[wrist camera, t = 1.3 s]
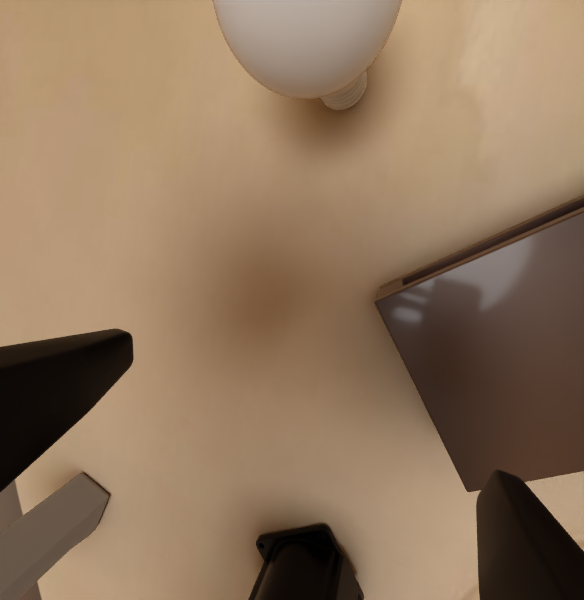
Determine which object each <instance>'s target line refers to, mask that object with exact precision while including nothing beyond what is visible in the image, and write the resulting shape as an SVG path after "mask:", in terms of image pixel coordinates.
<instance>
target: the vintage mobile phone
mask: <svg viewBox="0 0 584 600" xmlns="http://www.w3.org/2000/svg"><path fill="white" fill-rule="evenodd" d="M108 498H109V494H108V493H107V492H105V491H104V490H103V489H102V488H101V487H100V486H98V485H97V484H96V483H95V482H94V481H92V480H91V479H90V478H89V477H88V476H86V475H85V474H82V473H80V474H79V475H77V476H76V477H75V478H73V479H72V480H71V481H69V482H68V483H67V484H65V485H64V486H63V487H61V488H60V489H59V490H57V491H56V492H54V493H53V494H52V495H50V496H49V497H48V498H46V499H45V500H44V501H42V502H41V503H40V504H38V505H37V506H36V507H34V508H33V509H31V510H30V511H29V512H27V513H26V514H25V515H23V516H22V517H21V518H19V519H18V520H17V521H15V522H14V523H13V524H11V525H10V526H8V527H7V528H6V529H4V530H3V531H2V532H0V600H17V599H18V598H20V596H22V595H23V594H24V593H25V592H26V591H27V590H28V589H29V588H30V587H31V586H32V585H33V584H34V583H35V582H36V581H37V580H39V579H40V578H41V577H42V576H43V575H44V574H45V573H46V572H47V571H48V570H49V569H50V568H51V567H52V566H53V565H54V564H55V563H56V562H57V561H59V560H60V559H61V558H62V557H63V556H64V555H65V554H66V553H67V552H68V551H69V550H70V549H71V548H73V547H74V546H75V545H77V544H78V543H80V542H81V541H82V540H84V539H85V538H86V537H88V536H89V535H90V534H91V533H92V532H93V531H94V530H95V529H96V527H97V525H98V522H99V520H100V517H101V515H102V512H103V510H104V508H105V505H106V503H107V500H108Z"/></svg>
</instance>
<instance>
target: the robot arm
mask: <svg viewBox="0 0 584 600" xmlns="http://www.w3.org/2000/svg"><path fill="white" fill-rule="evenodd" d="M132 362H133V339H132V336H131V334H130V333H128V332H126V331H123V330H120V329H109V330H103V331H97V332H91V333H85V334H78V335H72V336H66V337H60V338H53V339H47V340H41V341H35V342H28V343H22V344H16V345H10V346H3V347H0V492H1V491H2V490H4V489H5V488H6V487H7V486H8V485H9V484H10V483H11V482H12V481H13V480H15V479H16V478H17V477H18V476H19V475H20V474H21V473H22V472H23V471H24V470H25V469H27V468H28V467H29V466H30V465H31V464H32V463H33V462H34V461H35V460H36V459H38V458H39V457H40V456H41V455H42V454H43V453H44V452H45V451H46V450H47V449H49V448H50V447H51V446H52V445H53V444H54V443H55V442H56V441H57V440H58V439H59V438H61V437H62V436H63V435H64V434H65V433H66V432H67V431H68V430H69V429H70V428H72V427H73V426H74V425H75V424H76V423H77V422H78V421H79V420H80V419H81V418H82V417H84V416H85V415H86V414H87V413H88V412H89V411H90V410H91V409H92V408H93V407H94V406H95V405H96V403H97V402H98V401H99V400H100V399H101V398H102V397H103V396H104V395H105V394H106V393H107V392H108V390H109V389H110V388H111V387H112V386H113V385H114V384H115V383H116V382H117V381H118V380H119V379H120V377H121V376H122V375H123V374H124V373H125V372H126V371H127V370H128V369H129V368H130V366H131V365H132ZM476 513H477V546H478V578H479V593H480V600H584V551H583V550H582V549H581V548H580V547H579V545H578V544H577V543H576V542H575V541H574V540H573V539H572V537H571V536H570V535H569V534H568V533H567V532H566V530H565V529H564V528H563V527H562V526H561V525H560V523H559V522H558V521H557V520H556V519H555V518H554V516H553V515H552V514H551V513H550V512H549V511H548V509H547V508H546V507H545V506H544V505H543V504H542V502H541V501H540V500H539V499H538V498H537V497H536V495H535V494H534V493H533V492H532V491H531V490H530V488H529V487H528V486H527V485H526V484H525V483H524V481H523V480H522V479H521V478H519V477H518V476H516V475H513V474H510V473H508V472H505V471H502V470H495V471H493V472H492V473H491V475H490V477H489V478H488V480H487V482H486V483H485V485H484V487H483V488H482V490H481V492H480V493H479V495H478V498H477V504H476ZM322 532H323V533H325V534H323V533H322ZM256 546H257V548H258V550H259V552H260V554H261V556H262V558H263V560H264V563H263V566H262V568H261V570H260V573H259V575H258V578H257V580H256V582H255V585H254V587H253V590H252V592H251V594H250V597H249V599H248V600H364V597H363V594H362V592H361V590H360V588H359V584H358V582H357V580H356V578H355V576H354V574H353V572H352V570H351V568H350V566H349V564H348V562H347V560H346V558H345V556H344V555H343V554H342V552H341V550H340V548H339V546H338V544H337V542H336V540H335V538H334V536H333V535H332V533H331V531H330V529H329V528H328V527H327V526H325V525H318V526H312V527H306V528H301V529H295V530H290V531H284V532H278V533H273V534H267V535H261V536H259V537H258V539H257V541H256Z"/></svg>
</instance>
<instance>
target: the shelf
mask: <svg viewBox="0 0 584 600" xmlns="http://www.w3.org/2000/svg"><path fill="white" fill-rule="evenodd" d="M375 305H376V307H377V309H378V311H379V313H380V315H381V317H382V319H383V321H384V323H385V325H386V327H387V329H388V331H389V333H390V335H391V337H392V339H393V341H394V343H395V346H396V348H397V350H398V352H399V354H400V356H401V358H402V360H403V362H404V364H405V366H406V368H407V370H408V372H409V374H410V376H411V378H412V380H413V382H414V384H415V386H416V388H417V390H418V393H419V395H420V397H421V399H422V401H423V403H424V405H425V407H426V409H427V411H428V413H429V415H430V417H431V419H432V421H433V423H434V425H435V427H436V429H437V431H438V433H439V435H440V437H441V440H442V442H443V444H444V446H445V448H446V450H447V452H448V454H449V456H450V458H451V460H452V462H453V464H454V466H455V468H456V470H457V472H458V474H459V476H460V478H461V480H462V482H463V484H464V487H465V489H466V490H467V492H473V491H478V490H482V488H483V487H484V485H485V483H486V482H487V480H488V478H489V477H490V475H491V473H492V472H493V471H495V470H502V471H505V472H508V473H510V474H513V475H516V476H518V477H519V478H521V479H522V480H523V481H524V482H527V481H532V480H538V479H543V478H548V477H554V476H559V475H565V474H570V473H576V472H581V471H584V195H582V196H580V197H578V198H576V199H573V200H571V201H569V202H567V203H565V204H562V205H560V206H558V207H556V208H553V209H551V210H549V211H547V212H545V213H542V214H540V215H538V216H536V217H533V218H531V219H529V220H527V221H525V222H522V223H520V224H518V225H516V226H513V227H511V228H509V229H507V230H505V231H502V232H500V233H498V234H496V235H493V236H491V237H489V238H487V239H485V240H482V241H480V242H478V243H476V244H473V245H471V246H469V247H467V248H465V249H462V250H460V251H458V252H456V253H453V254H451V255H449V256H447V257H444V258H442V259H440V260H438V261H436V262H433V263H431V264H429V265H427V266H424V267H422V268H420V269H418V270H416V271H413V272H411V273H409V274H407V275H404V276H402V277H400V278H398V279H396V280H393V281H391V282H389V283H387V284H384V285H382V286H381V287H380V289H379V292H378V294H377V297H376V300H375Z"/></svg>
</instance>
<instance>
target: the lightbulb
mask: <svg viewBox="0 0 584 600" xmlns="http://www.w3.org/2000/svg"><path fill="white" fill-rule="evenodd" d="M212 1H213V5H214V9H215V13H216V17H217V20H218V23H219V26H220V28H221V31H222V33H223V36H224V38H225V40H226V42H227V44H228V46H229V48H230V50H231V51H232V53H233V55H234V56H235V58H236V59H237V60H238V62H239V63H240V64H241V66H242V67H243V68H244V69H245V70H246V71H247V73H248V74H249V75H250V76H251V77H253V78H254V79H255V80H256V81H257V82H259V83H260V84H261V85H263V86H264V87H266V88H267V89H269V90H271V91H273V92H275V93H277V94H280V95H282V96H285V97H289V98H295V99H316V98H321V100H322V101H323V103H324V104H325V105H326V106H328V107H329V108H332V109H335V110H343V109H347V108H349V107H351V106H353V105H354V104H355V103H357V102H358V101H359V99H360V98H361V97H362V95H363V94H364V91H365V89H366V86H367V69H368V67H369V66H370V65H371V64H372V63H373V61H374V60H375V59H376V57H377V56H378V55H379V53H380V52H381V50H382V48H383V47H384V45H385V43H386V41H387V39H388V38H389V35H390V33H391V31H392V29H393V27H394V24H395V22H396V19H397V16H398V13H399V10H400V6H401V3H402V0H212Z"/></svg>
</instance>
